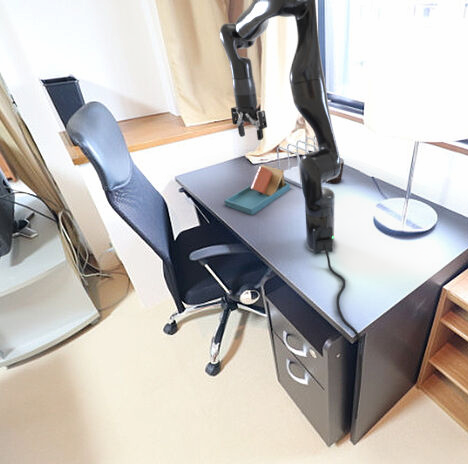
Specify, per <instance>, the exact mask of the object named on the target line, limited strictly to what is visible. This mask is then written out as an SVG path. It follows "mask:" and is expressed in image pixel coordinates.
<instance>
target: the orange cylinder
mask: <svg viewBox="0 0 468 464" xmlns="http://www.w3.org/2000/svg"><path fill="white" fill-rule="evenodd" d="M272 174H273V172H272V171H270V170H268V169H266V168H264V167H261V166H258V167H257V170H256V173H255V175H254V178H253V180H252V183H251V184H252V185H251V184H250V185H251V187H250V189H251V190H253V191H255V192H257V193H260V194H263V195H264V194H265V191H266V189H267V186H268V184H269V181H270V179H271V176H272Z"/></svg>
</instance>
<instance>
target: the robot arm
mask: <svg viewBox="0 0 468 464" xmlns="http://www.w3.org/2000/svg"><path fill="white" fill-rule="evenodd" d="M316 3H317V2H316V0H252V1H251V3H250V4H249V6H248V7H247V8H246V9H245V10H244V11H243V12H242V13H241V14H239V16H238V17H237V19H236V20H235V22H230V23H229V22H228V23H223V24H222V25H221V26H220V29H219V39H220V42H221V45H222V47H223V49H224V51H225V54H226V57H227V59H228V62H229V65H230V71H231V79H232V89H233V95H234V96H233V97H234V101H235V106H233V107H231V108H230V113H231V122H232V124H233V125H236V127H237V130H238V135H239V136H240V137H241V138H244V137H245V136H246V131H245V125H244V124H245V123H246V122H248V123H250V124H252V126H254V128H255V130H256V137H257V140H258V141H262V140H263V139H264V129H266V128H268V123H267V116H266V111H265V110H264V109H263V110H258V98H257V89H256V81H255V79H254V72H253V63H252V60H251V58H250V57H246V56H241V55H240V54H239V52H238V50H243V49H249V48H252V47H253V46H254V44H255V43H256V40H257V38H259V37H260V36H261V35H263V34H264V33H265V32H266V30H267V29H268V27H269V22H270V19H272V18H276V17H280V18H294V19H295V24H296V33H297V40H296V41H297V43H296V48H295V52H294V54H293V58H292V61H291V65H290V70H289V75H288V76H289V79H288V80H289V84H290V90H291V95H292V100H293V104H294V106H295V109H296V110H297V111H298V113H299V114H300V115H301V117H302V118H303V119H304V120H305V121H306V123H307V124H308V125H309V127H310V128H311V130H312V131H313V133H314V136H316V137H315V140H317V141H316V143H317V148H318V149H319V150H317V149H316V150H315V151H314V150H313V151H310V152H309V153H307V154H306V153H305V154H303V155H302V156H301V158H300V172H301V181H302V187H301V189H302V194H303V198H304V211H305V212H304V213H305V231H306V248H307V249H308V251H310V252H312V253H313V254H314V255H320V254H325V256H326V259H327V266H328V269H329V271H330V272H331V273H332V274H333V275H334V276H336V277H338V278H339V279H341V281H342V286H341V288H340V290H339V292H337V293H338V294H337V295H336V310H337V312H338V316H339V317H340V319H341V321H342V322H343V324H344V326H346V327H347V328H348V329H350V330H351V331H352V332H353V333H354V335H355V336H356V339H357V341H358V343H360V344H362V343H363V342H362V338H361V335H360V333H359V332H358V331H357V330H356V328H355V327H353V326H352V325H351V324H350V323H349V322H348V321H347V320H346V319H345V317H344V316H343V312H342V310H341V307H340V298H341V295H342V293H343V292H344V290H345V289H346V283H347V282H346V279H345V278H344V277H343V275H340V273H337V272H336V271H335V270H334V269H333V268H332V265H331V259H330V258H331V257H330V255H329V253H332V252H333V250H334V247H335V203H336V202H335V200H336V199H335V193H334V191H333V190H332V189H331V188H329V187H326V186H323V183H326V182H328V180H331V179H333V178H336V177H337V176H338V175H339V173H340V170H341V162H340V158H341V156H340V152H339V149H338V144H337V140H336V136H335V133H334V128H333V123H332V118H331V113H330V106H329V100H328V91H327V85H326V80H325V74H324V68H323V62H322V55H321V48H320V47H321V46H320V41H319V30H318V18H317V17H318V16H317V4H316ZM362 373H363V354H358V380H357V381H358V382H357V393H356V400H355V401H356V402H355V409H354V419H355V420H357V419H358V414H359V413H358V412H359V403H360V396H361V389H362V377H363V376H362V375H363V374H362Z"/></svg>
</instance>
